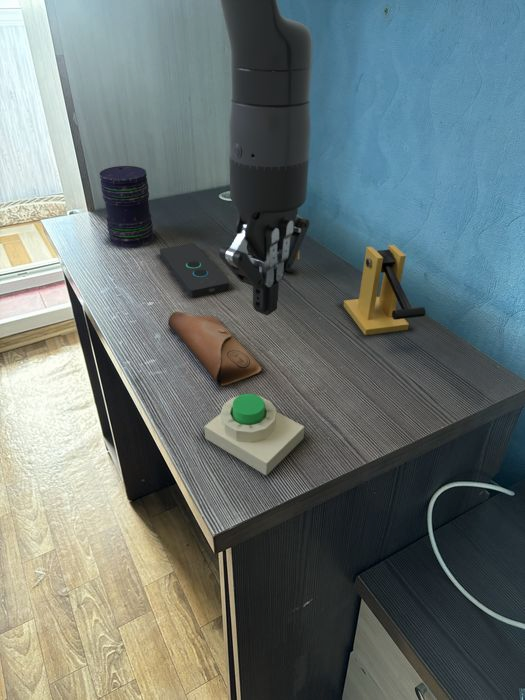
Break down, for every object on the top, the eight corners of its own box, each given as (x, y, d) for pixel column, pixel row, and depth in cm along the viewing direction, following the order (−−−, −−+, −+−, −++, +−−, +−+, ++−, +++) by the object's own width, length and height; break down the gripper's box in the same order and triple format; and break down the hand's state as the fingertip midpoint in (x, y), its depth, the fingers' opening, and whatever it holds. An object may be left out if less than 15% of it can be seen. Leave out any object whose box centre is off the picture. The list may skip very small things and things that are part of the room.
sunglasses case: (267, 368, 78) (247, 343, 74) (232, 399, 78) (210, 377, 73) (212, 314, 91) (192, 290, 86) (182, 341, 90) (160, 318, 85)
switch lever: (422, 319, 81) (428, 310, 79) (393, 323, 80) (398, 314, 78) (392, 258, 88) (397, 248, 86) (365, 261, 87) (369, 251, 85)
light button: (270, 412, 66) (271, 402, 65) (251, 430, 63) (251, 419, 62) (246, 399, 68) (246, 389, 67) (226, 415, 65) (226, 405, 64)
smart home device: (189, 290, 95) (157, 248, 110) (190, 298, 96) (158, 255, 111) (231, 281, 98) (194, 242, 113) (231, 289, 99) (195, 249, 114)
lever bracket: (408, 329, 89) (423, 262, 82) (365, 335, 87) (376, 266, 80) (383, 301, 97) (394, 237, 90) (343, 306, 95) (351, 240, 88)
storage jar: (158, 244, 116) (151, 177, 107) (113, 250, 112) (102, 181, 104) (148, 228, 123) (141, 164, 114) (106, 233, 120) (95, 168, 111)
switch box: (303, 438, 67) (305, 415, 65) (266, 476, 62) (267, 452, 60) (244, 406, 72) (244, 384, 70) (204, 438, 67) (203, 415, 65)
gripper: (257, 176, 42) (255, 348, 52) (339, 145, 51) (324, 298, 61) (191, 159, 46) (201, 324, 56) (278, 133, 55) (273, 279, 65)
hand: (265, 310), depth 59 cm, fingers closed
